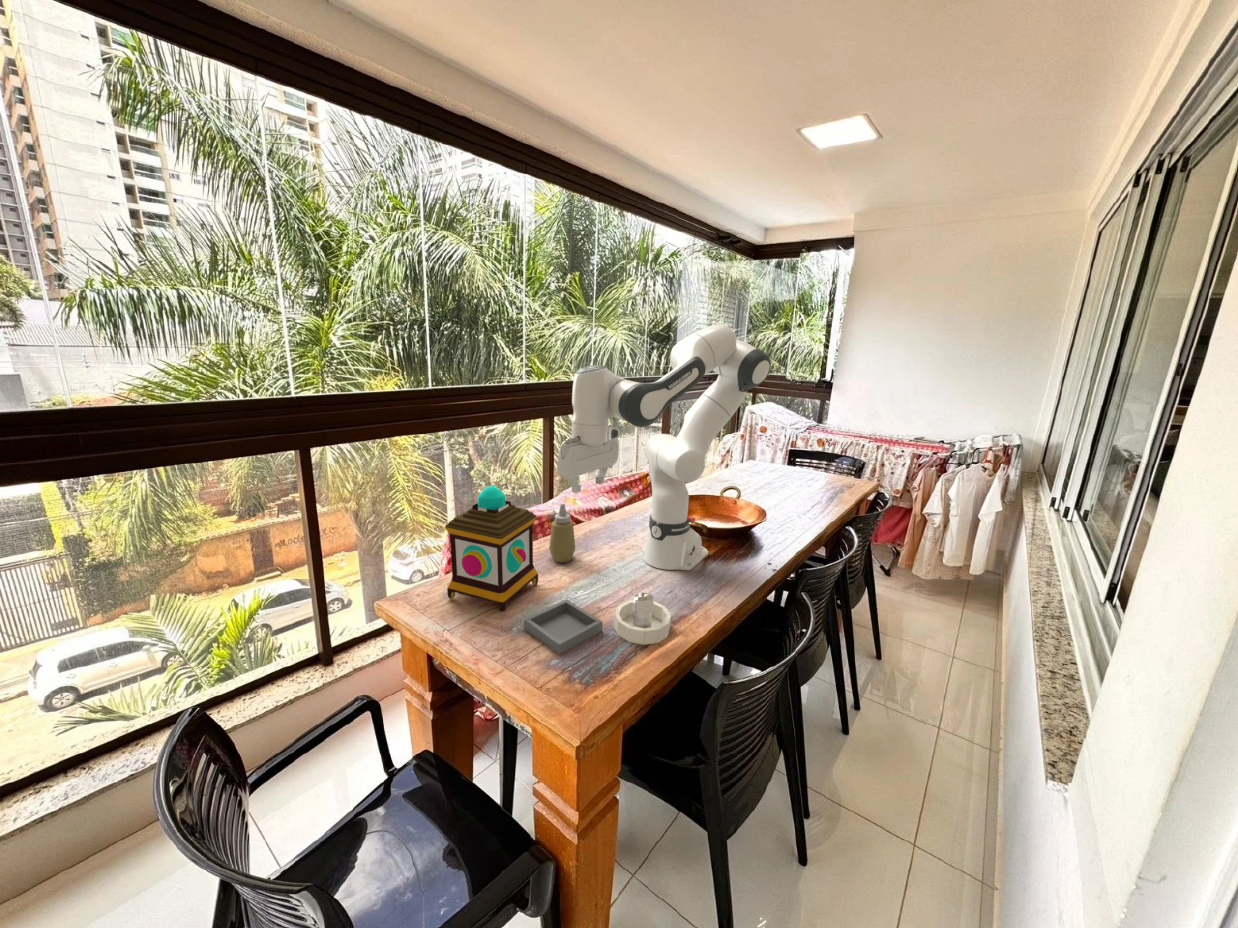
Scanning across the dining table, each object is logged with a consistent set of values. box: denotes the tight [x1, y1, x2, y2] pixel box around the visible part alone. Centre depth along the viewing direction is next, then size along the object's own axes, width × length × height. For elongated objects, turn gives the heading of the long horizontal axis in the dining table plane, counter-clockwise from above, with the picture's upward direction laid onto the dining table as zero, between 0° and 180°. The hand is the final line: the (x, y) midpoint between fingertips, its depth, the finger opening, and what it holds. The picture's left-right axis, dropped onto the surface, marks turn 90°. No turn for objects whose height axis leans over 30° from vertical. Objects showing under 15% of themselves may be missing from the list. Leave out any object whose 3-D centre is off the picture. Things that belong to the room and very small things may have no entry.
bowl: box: [613, 599, 672, 645], centre depth 119 cm, size 13×13×4 cm
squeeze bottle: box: [548, 503, 576, 563], centre depth 152 cm, size 8×8×18 cm
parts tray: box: [523, 599, 603, 655], centre depth 117 cm, size 13×13×4 cm
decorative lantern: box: [444, 485, 539, 612], centre depth 131 cm, size 20×20×30 cm
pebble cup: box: [633, 592, 654, 628], centre depth 118 cm, size 4×4×9 cm
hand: (588, 487), depth 125 cm, fingers open, 8 cm apart
